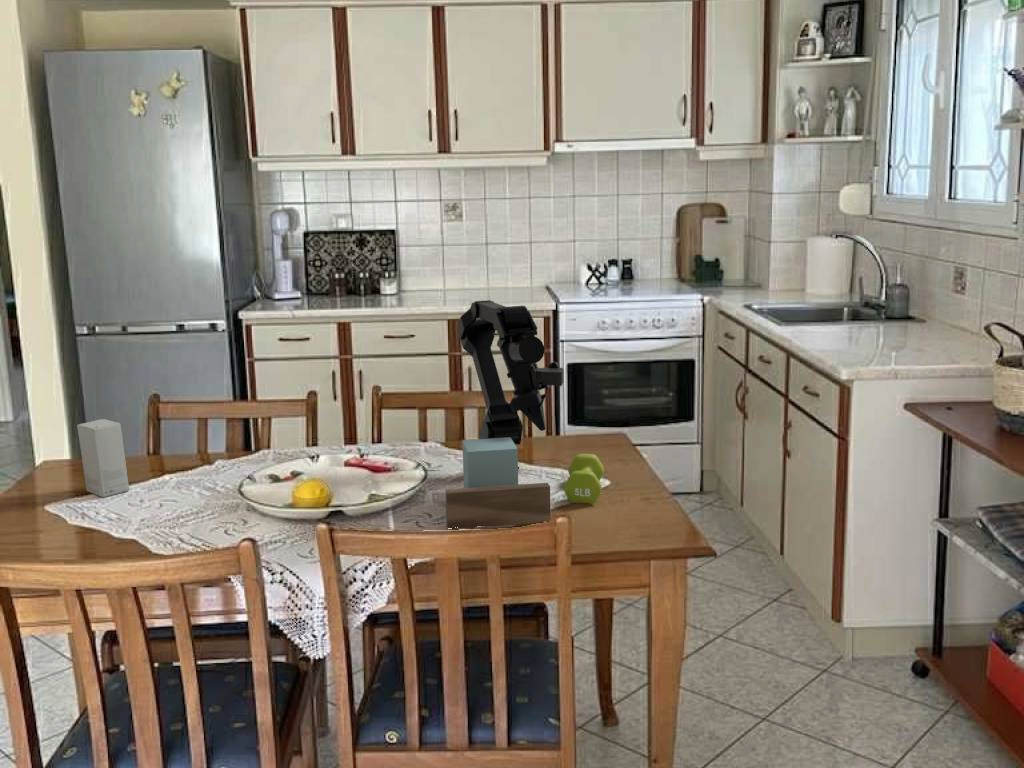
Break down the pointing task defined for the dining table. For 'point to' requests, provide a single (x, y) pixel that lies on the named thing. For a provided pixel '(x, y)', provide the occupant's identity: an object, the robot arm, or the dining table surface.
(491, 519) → the board
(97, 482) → the skincare box
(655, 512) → the dining table surface
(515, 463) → the block
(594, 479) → the dumbbell
